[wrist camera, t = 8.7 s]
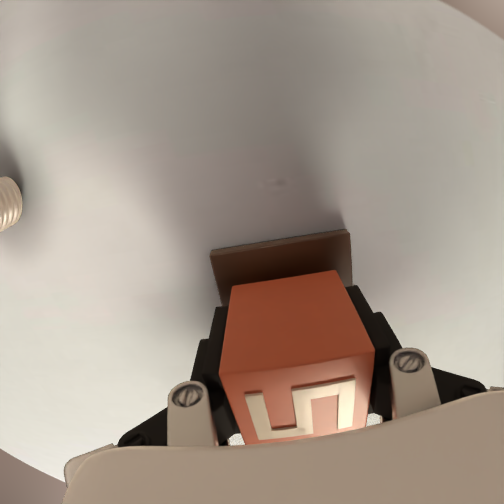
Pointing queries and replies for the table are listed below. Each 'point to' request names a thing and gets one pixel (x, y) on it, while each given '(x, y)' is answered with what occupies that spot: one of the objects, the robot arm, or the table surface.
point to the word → (282, 260)
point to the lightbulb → (9, 203)
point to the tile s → (296, 359)
